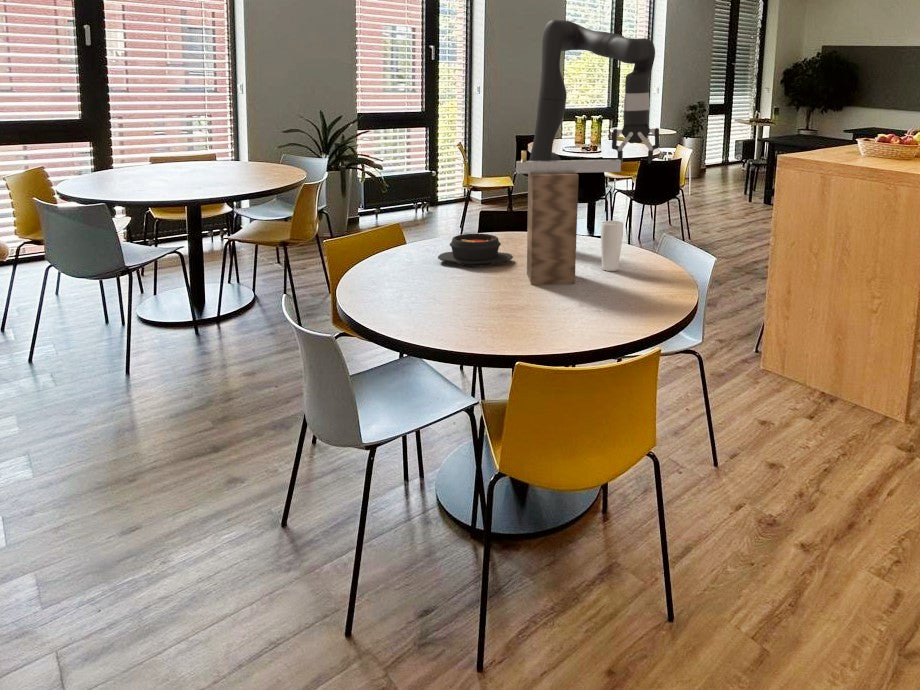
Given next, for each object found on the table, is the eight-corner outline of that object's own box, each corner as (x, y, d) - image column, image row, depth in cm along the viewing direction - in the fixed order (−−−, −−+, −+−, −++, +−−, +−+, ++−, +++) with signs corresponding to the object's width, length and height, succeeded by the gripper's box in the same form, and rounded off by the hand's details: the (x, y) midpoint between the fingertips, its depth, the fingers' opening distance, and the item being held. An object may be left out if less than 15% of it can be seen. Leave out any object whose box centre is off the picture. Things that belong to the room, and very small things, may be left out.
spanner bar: (517, 173, 230) (517, 151, 228) (516, 172, 233) (516, 150, 231) (620, 171, 230) (621, 150, 228) (618, 170, 233) (619, 148, 231)
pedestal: (531, 284, 236) (532, 175, 225) (526, 274, 248) (528, 169, 238) (574, 283, 236) (578, 174, 226) (568, 273, 248) (571, 169, 238)
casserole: (515, 257, 271) (515, 232, 268) (510, 270, 254) (510, 244, 251) (442, 255, 275) (442, 231, 272) (433, 268, 257) (432, 242, 254)
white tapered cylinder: (597, 267, 255) (599, 220, 250) (617, 266, 256) (620, 220, 251) (602, 272, 249) (604, 224, 244) (623, 271, 249) (626, 224, 244)
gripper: (611, 110, 240) (610, 165, 245) (659, 108, 235) (658, 164, 241) (614, 108, 246) (613, 162, 252) (661, 107, 242) (659, 161, 247)
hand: (635, 163), depth 246 cm, fingers open, 8 cm apart
